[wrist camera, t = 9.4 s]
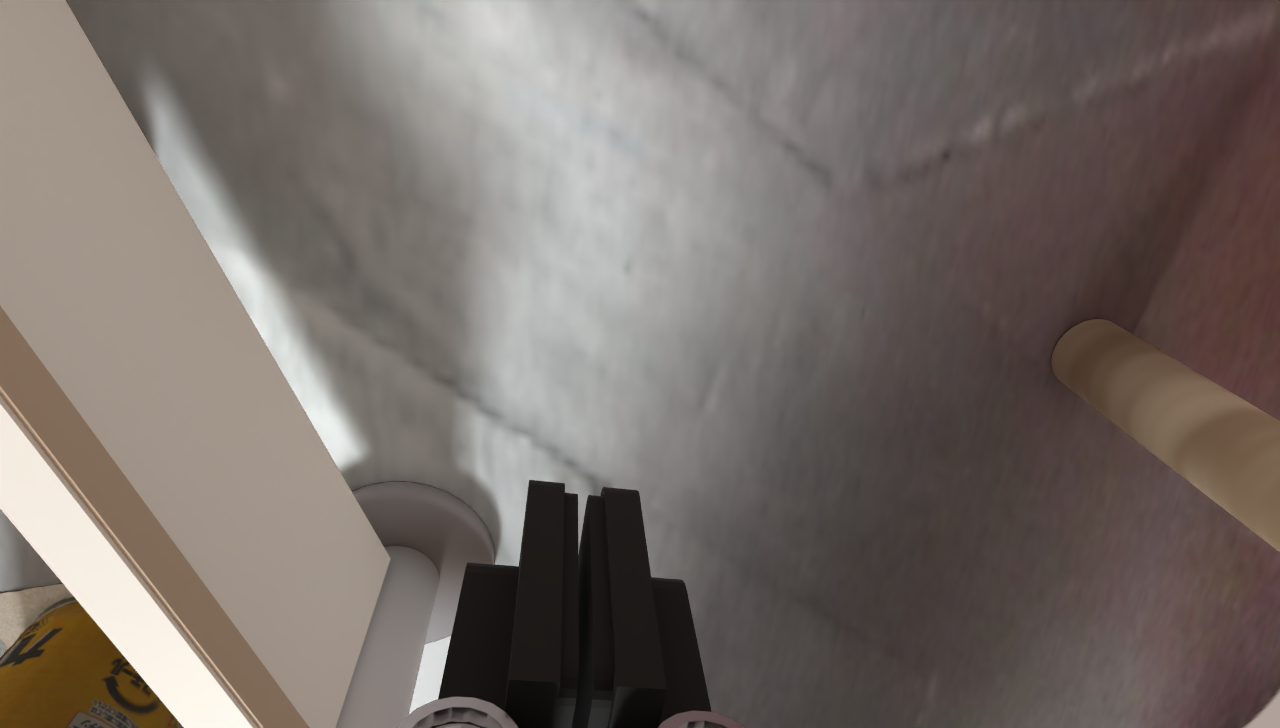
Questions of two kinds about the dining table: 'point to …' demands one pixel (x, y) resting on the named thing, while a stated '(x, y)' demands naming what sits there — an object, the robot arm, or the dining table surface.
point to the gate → (173, 430)
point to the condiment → (67, 669)
